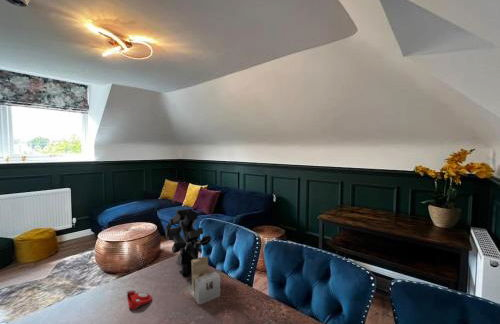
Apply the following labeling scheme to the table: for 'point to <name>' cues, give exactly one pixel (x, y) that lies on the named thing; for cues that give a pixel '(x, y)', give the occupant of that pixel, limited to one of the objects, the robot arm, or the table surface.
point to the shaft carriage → (199, 269)
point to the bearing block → (206, 288)
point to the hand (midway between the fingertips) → (197, 260)
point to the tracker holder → (137, 299)
